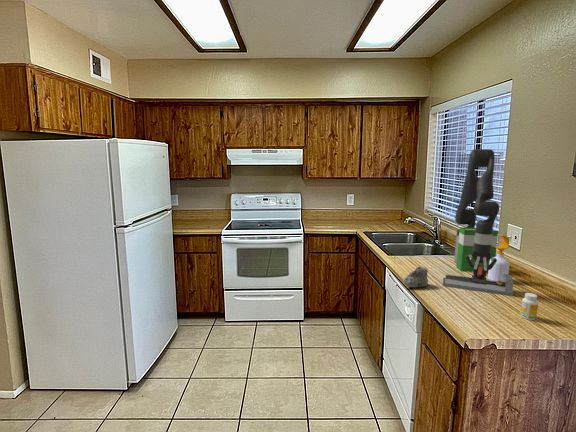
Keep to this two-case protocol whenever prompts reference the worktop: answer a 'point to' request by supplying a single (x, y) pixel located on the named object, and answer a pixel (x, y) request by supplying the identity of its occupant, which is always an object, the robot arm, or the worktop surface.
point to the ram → (479, 276)
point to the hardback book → (471, 248)
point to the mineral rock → (417, 278)
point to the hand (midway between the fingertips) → (479, 276)
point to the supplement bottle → (529, 306)
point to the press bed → (489, 287)
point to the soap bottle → (500, 262)
